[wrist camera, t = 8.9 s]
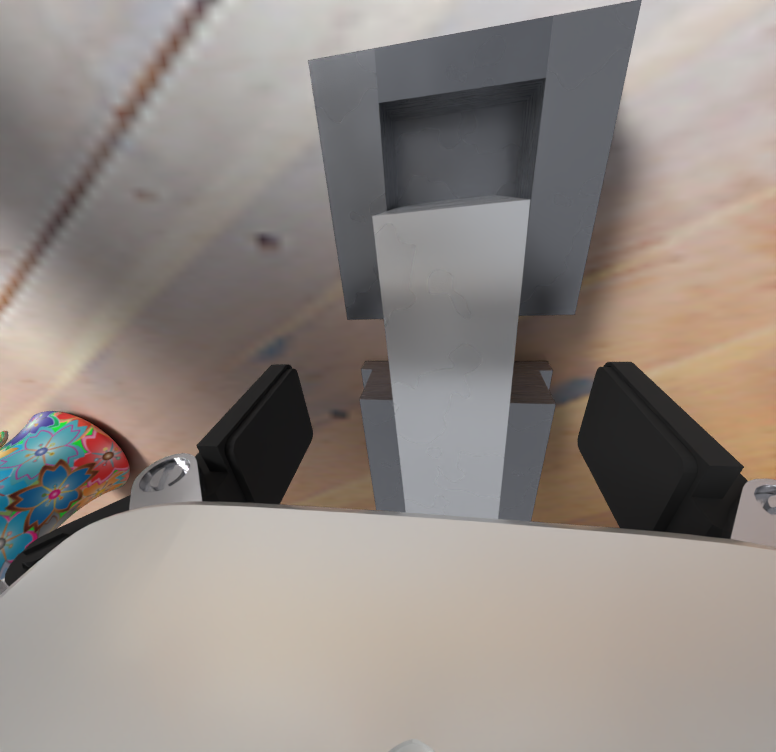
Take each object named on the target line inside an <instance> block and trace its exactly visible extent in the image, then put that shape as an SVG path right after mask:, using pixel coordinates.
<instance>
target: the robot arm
mask: <svg viewBox="0 0 776 752" xmlns="http://www.w3.org/2000/svg"><path fill="white" fill-rule="evenodd" d="M312 437H313V430H312V426H311V422H310V418H309V414H308V410H307V407H306V403H305V399H304V395H303V392H302V388H301V384H300V380H299V376H298V373H297V371H296V369H292V367H291V366H290V365H271V366H270V367H269V368H268V369H267V370H266V371H265V372H264V374H263V375H262V376H261V377H260V378H259V379H258V380H257V381H256V382H255V383H254V384H253V385H252V386H251V387H250V389H249V390H248V391H247V392H246V393H245V394H244V395H243V396H242V397H241V398H240V399H239V400H238V401H237V403H236V404H235V405H234V406H233V407H232V408H231V409H230V410H229V411H228V412H227V413H226V414H225V415H224V416H223V418H222V419H221V420H220V421H219V422H218V423H217V424H216V425H215V426H214V427H213V428H212V429H211V430H210V432H209V433H208V434H207V435H206V436H205V437H204V438H203V439H202V440H201V441H200V442H199V443H198V444H197V445H196V446H197V448H198V450H199V453H198V454H197V455H196V456H195V457H194V456H192V455H191V454H185V453H182V454H174V455H171V456H168V457H165V458H163V459H160V460H158V461H156V462H155V463H153V464H151V465H150V466H148V467H147V468H146V469H144V470H143V471H142V472H141V473H140V474H139V475H138V476H137V478H136V479H135V480H134V482H133V485H132V489H131V495H130V496H127V497H125V498H123V499H121V500H119V501H117V502H114V503H112V504H110V505H108V506H106V507H103V508H101V509H99V510H97V511H95V512H93V513H90V514H88V515H86V516H84V517H82V518H79V519H77V520H75V521H73V522H71V523H69V524H66V525H64V526H62V527H60V528H58V529H55V530H53V531H51V532H50V533H47V534H45V535H43V536H41V537H39V538H38V539H36V540H35V541H33V542H32V543H31V544H29V545H28V546H27V547H26V548H25V549H24V550H23V551H22V552H21V553H20V554H19V555H18V556H17V557H16V558H15V559H14V561H13V562H12V563H11V564H10V566H9V568H8V569H7V571H6V573H5V578H3V579H2V580H0V752H776V480H772V479H754V480H751V481H747V480H746V479H745V478H744V477H743V476H742V475H741V474H740V472H741V471H742V469H743V468H744V466H743V465H741V464H740V463H739V462H738V461H737V460H736V459H735V458H734V457H733V456H732V455H731V454H730V453H729V452H728V451H726V450H725V449H724V448H723V447H722V446H721V445H720V444H719V443H718V442H717V441H716V440H715V439H714V438H713V437H712V436H710V435H709V434H708V433H707V432H706V431H705V430H704V429H703V428H702V427H701V426H700V425H699V424H698V423H697V422H696V421H694V420H693V419H692V418H691V417H690V416H689V415H688V414H687V413H686V412H685V411H684V410H683V409H682V408H681V407H679V406H678V405H677V404H676V403H675V402H674V401H673V400H672V399H671V398H670V397H669V396H668V395H667V394H666V393H665V392H663V391H662V390H661V389H660V388H659V387H658V386H657V385H656V384H655V383H654V382H653V381H652V380H651V379H650V378H649V377H647V376H646V375H645V374H644V373H643V372H642V371H641V370H640V369H639V368H638V367H637V366H636V365H635V364H634V363H632V362H607V363H606V364H605V365H604V367H599V368H598V369H597V372H596V375H595V378H594V382H593V386H592V389H591V393H590V396H589V400H588V403H587V407H586V410H585V414H584V417H583V421H582V425H581V428H580V432H579V435H578V447H579V450H580V452H581V454H582V456H583V458H584V460H585V462H586V464H587V466H588V467H589V469H590V471H591V473H592V475H593V477H594V479H595V481H596V483H597V485H598V487H599V489H600V491H601V492H602V494H603V496H604V498H605V500H606V502H607V504H608V506H609V508H610V510H611V512H612V514H613V516H614V518H615V519H616V521H617V523H618V525H619V527H620V528H612V527H599V526H586V525H572V524H559V523H545V522H532V521H519V520H505V519H492V518H477V517H463V516H449V515H435V514H420V513H405V512H391V511H376V510H361V509H345V508H329V507H313V506H298V505H282V504H280V502H281V500H282V498H283V496H284V494H285V492H286V491H287V489H288V487H289V485H290V483H291V481H292V479H293V477H294V475H295V473H296V471H297V469H298V467H299V465H300V463H301V461H302V459H303V457H304V455H305V453H306V451H307V449H308V447H309V445H310V443H311V441H312Z"/></svg>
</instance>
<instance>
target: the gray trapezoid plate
mask: <svg viewBox="0 0 776 752" xmlns="http://www.w3.org/2000/svg"><path fill="white" fill-rule="evenodd" d="M529 208H530V199H522V198H514V197H506V196H498V195H487V196H478V197H469V198H460V199H451V200H442V201H433V202H424V203H415V204H406V205H403V206H401V207H398V208H395V209H392V210H389V211H386V212H383V213H380V214H378V215H375V216H372V219H373V228H374V236H375V245H376V254H377V263H378V272H379V280H380V289H381V298H382V307H383V316H384V324H385V333H386V342H387V351H388V360H389V368H390V377H391V386H392V395H393V404H394V412H395V421H396V430H397V439H398V448H399V456H400V465H401V474H402V483H403V492H404V500H405V509H406V513H420V514H435V515H449V516H463V517H477V518H492V519H498V515H499V505H500V495H501V485H502V475H503V465H504V455H505V445H506V435H507V426H508V416H509V406H510V396H511V386H512V376H513V366H514V356H515V346H516V336H517V326H518V317H519V307H520V297H521V287H522V277H523V267H524V257H525V247H526V237H527V227H528V218H529Z"/></svg>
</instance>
